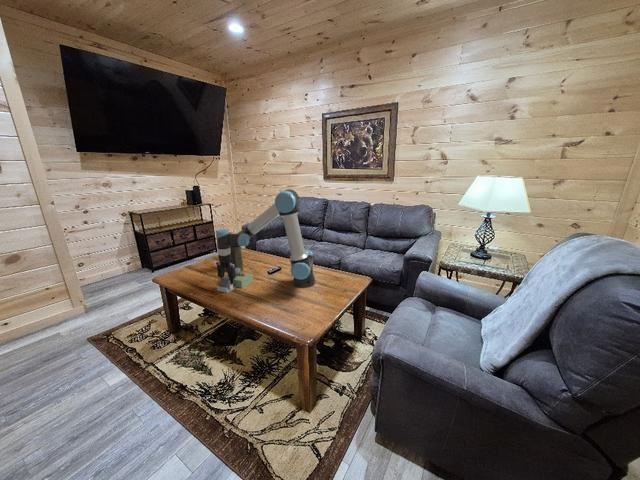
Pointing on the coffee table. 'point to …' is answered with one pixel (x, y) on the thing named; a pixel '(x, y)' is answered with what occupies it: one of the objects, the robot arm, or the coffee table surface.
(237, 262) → the beer stein
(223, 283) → the tall grey cuboid
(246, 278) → the green base with dome
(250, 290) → the coffee table surface
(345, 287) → the coffee table surface
